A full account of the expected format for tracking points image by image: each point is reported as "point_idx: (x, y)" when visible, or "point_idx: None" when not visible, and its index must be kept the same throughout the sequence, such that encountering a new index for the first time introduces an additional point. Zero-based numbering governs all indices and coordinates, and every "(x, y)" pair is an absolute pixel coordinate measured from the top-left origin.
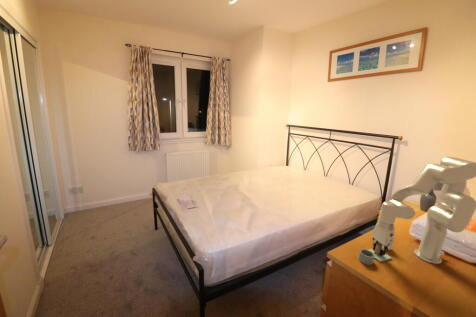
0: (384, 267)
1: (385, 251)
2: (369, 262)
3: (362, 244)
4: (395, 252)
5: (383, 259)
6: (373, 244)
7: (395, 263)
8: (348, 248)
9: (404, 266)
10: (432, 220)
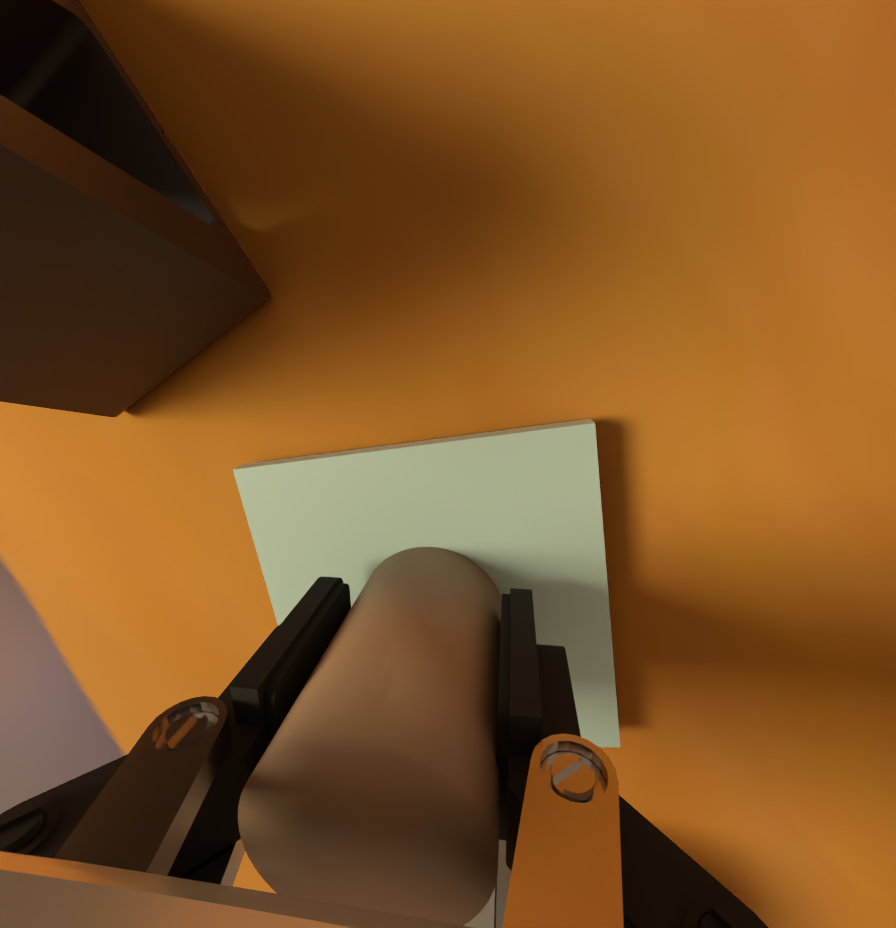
0: (748, 761)
1: (574, 725)
2: None
3: (124, 601)
4: (373, 25)
5: (599, 655)
6: (110, 412)
7: (724, 449)
8: (246, 880)
9: (876, 320)
10: None
